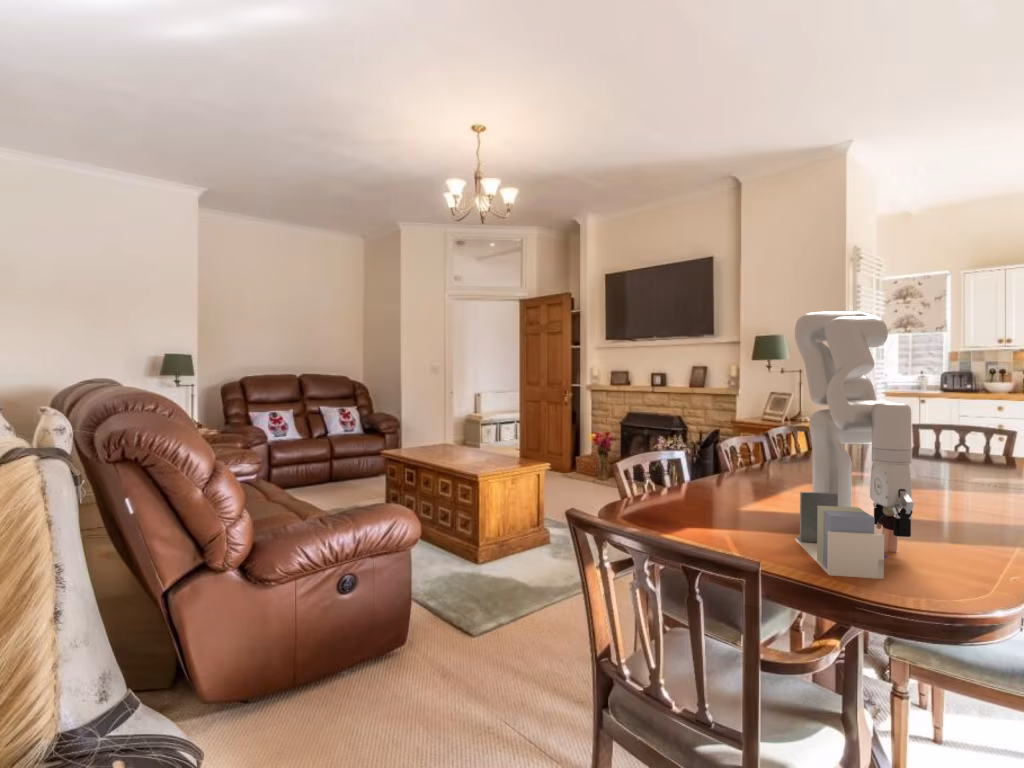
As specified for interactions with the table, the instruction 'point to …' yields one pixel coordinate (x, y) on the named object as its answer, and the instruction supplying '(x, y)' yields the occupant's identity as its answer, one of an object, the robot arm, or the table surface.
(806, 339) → the robot arm
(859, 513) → the book slate
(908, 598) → the table surface
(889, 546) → the grandmother figurine
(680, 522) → the table surface
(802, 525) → the bookend
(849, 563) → the book rack
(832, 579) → the table surface
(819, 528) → the book sage
